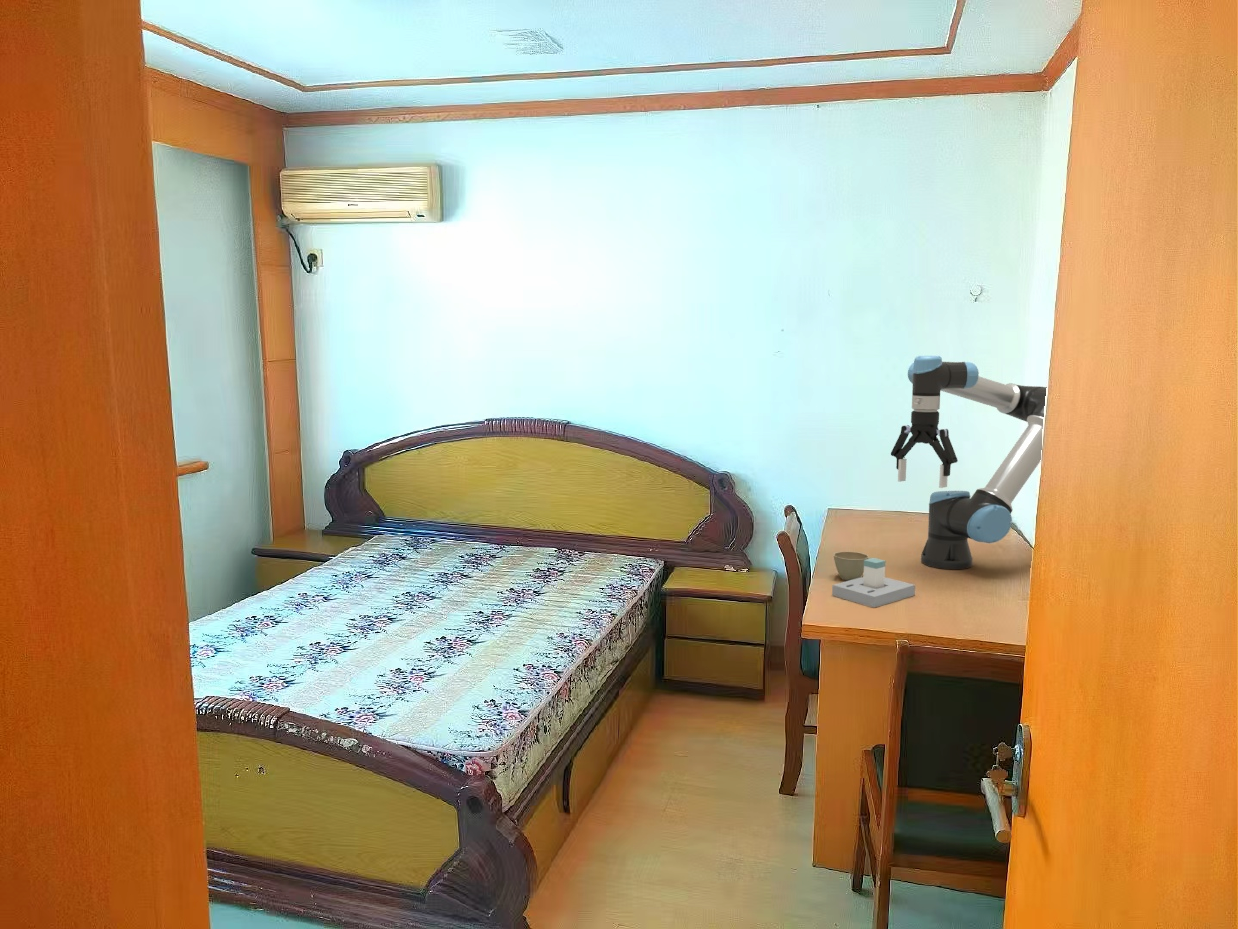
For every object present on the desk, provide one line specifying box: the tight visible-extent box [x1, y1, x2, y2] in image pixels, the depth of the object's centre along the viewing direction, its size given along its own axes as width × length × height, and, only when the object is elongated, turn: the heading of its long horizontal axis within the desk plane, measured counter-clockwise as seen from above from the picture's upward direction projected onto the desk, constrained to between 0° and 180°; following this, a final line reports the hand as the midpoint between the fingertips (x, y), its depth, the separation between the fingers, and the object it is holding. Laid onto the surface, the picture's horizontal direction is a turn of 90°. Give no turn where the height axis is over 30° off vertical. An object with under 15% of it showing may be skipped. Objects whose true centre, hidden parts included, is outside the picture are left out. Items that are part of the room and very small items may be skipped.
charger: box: [863, 557, 886, 589], centre depth 245 cm, size 4×4×10 cm
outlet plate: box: [831, 576, 916, 609], centre depth 246 cm, size 18×14×3 cm
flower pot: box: [833, 550, 870, 581], centre depth 262 cm, size 10×10×7 cm
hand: (921, 484), depth 256 cm, fingers open, 13 cm apart
